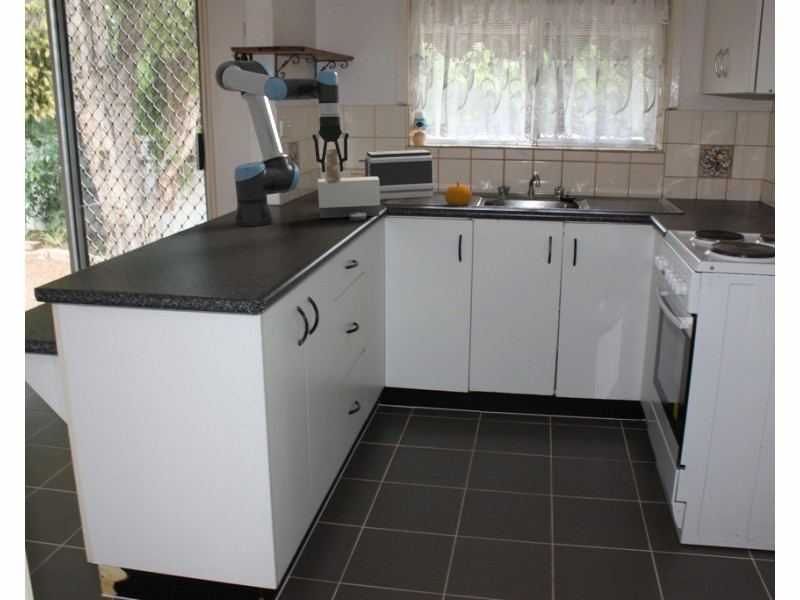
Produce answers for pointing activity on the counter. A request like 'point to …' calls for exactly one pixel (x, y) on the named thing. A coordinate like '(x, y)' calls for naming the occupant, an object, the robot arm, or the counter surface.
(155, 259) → the counter surface
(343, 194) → the two-tone white block
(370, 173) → the toaster
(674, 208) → the counter surface
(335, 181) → the mottled tan block
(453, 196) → the fruit
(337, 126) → the robot arm
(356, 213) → the token
